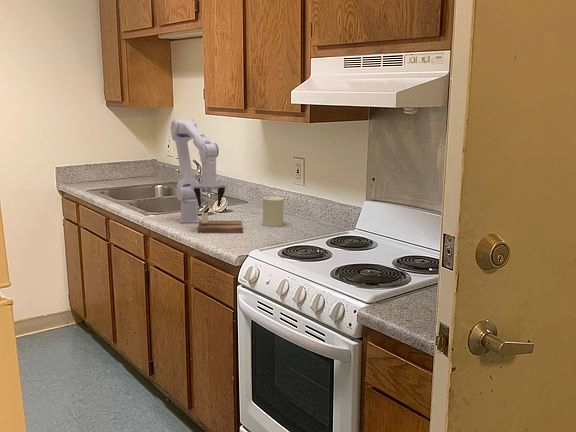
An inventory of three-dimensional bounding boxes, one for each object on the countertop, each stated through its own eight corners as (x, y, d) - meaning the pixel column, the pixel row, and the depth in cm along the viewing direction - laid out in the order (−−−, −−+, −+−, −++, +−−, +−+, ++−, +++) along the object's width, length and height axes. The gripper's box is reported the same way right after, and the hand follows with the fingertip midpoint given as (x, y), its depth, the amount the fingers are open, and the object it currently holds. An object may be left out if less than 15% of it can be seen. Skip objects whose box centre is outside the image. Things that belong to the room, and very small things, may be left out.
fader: (201, 221, 248) (201, 212, 247) (207, 221, 248) (207, 212, 247) (201, 224, 243) (201, 214, 242) (207, 224, 243) (207, 214, 242)
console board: (199, 225, 253) (199, 220, 252) (241, 225, 255) (241, 220, 254) (197, 232, 239) (197, 227, 239) (242, 232, 241) (242, 227, 241)
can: (259, 222, 261) (259, 195, 258) (279, 221, 264) (279, 195, 262) (266, 227, 252) (266, 199, 250) (286, 226, 256) (287, 198, 253)
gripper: (191, 174, 234) (192, 208, 237) (228, 174, 238) (228, 207, 240) (190, 172, 241) (190, 205, 244) (225, 172, 245) (226, 204, 247)
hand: (209, 206), depth 242 cm, fingers open, 7 cm apart
